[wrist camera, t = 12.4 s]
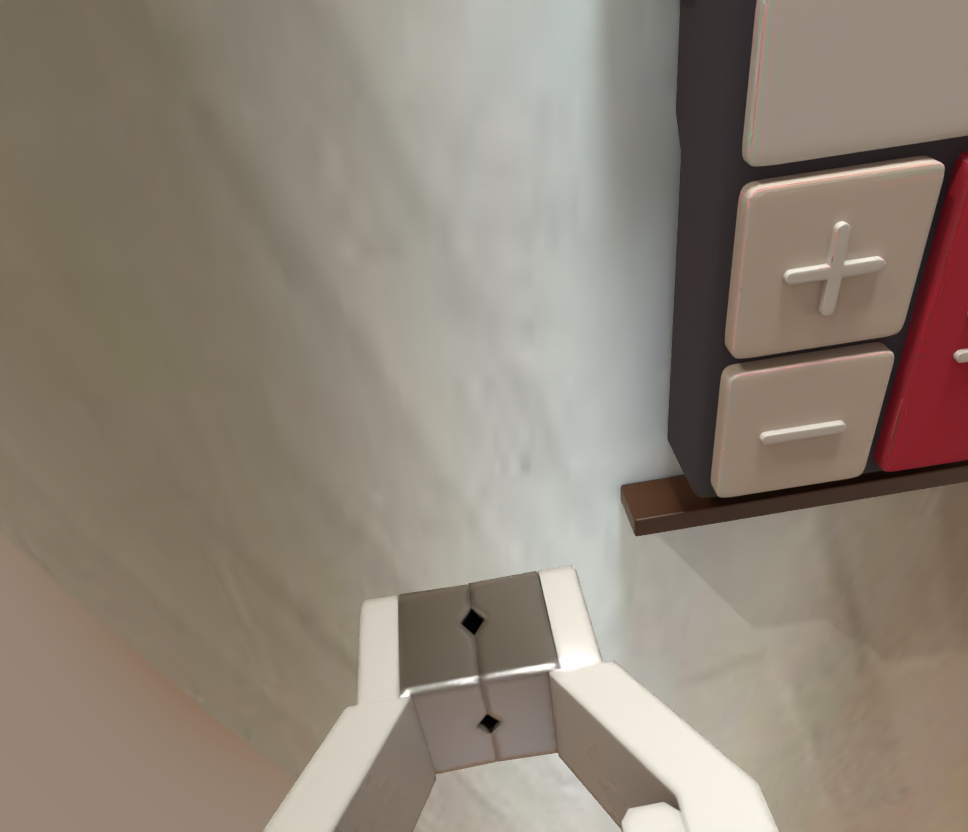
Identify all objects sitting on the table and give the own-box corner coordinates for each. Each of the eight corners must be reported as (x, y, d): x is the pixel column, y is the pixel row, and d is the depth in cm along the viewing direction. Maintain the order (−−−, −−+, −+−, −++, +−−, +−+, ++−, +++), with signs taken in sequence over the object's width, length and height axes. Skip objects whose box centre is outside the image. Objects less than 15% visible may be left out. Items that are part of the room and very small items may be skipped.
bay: (598, -167, 16) (621, -180, 14) (1306, -280, 16) (1411, -306, 14) (620, 500, 27) (634, 537, 25) (1041, 431, 27) (1083, 463, 25)
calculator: (700, 519, 23) (753, -40, 14) (660, 435, 26) (680, -55, 17) (1042, 465, 23) (1318, -124, 14) (957, 389, 26) (1133, -122, 17)
